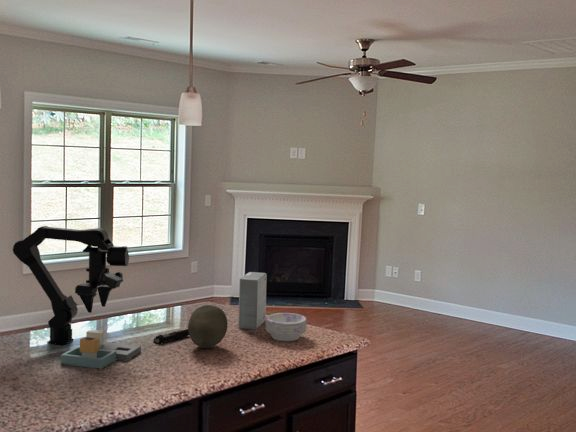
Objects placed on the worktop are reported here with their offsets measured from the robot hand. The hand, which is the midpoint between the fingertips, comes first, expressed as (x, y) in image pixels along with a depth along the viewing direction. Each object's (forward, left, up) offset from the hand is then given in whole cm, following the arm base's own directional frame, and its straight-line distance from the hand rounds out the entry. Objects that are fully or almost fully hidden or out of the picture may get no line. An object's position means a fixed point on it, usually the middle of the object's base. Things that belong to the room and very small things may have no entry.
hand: (96, 309), depth 216 cm
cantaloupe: (+38, +8, -12) cm, 41 cm away
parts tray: (+8, -19, -12) cm, 23 cm away
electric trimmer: (+23, +13, -12) cm, 29 cm away
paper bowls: (+61, +30, -12) cm, 69 cm away
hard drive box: (+44, +44, -12) cm, 63 cm away
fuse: (+4, -9, -12) cm, 15 cm away
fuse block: (+9, -9, -12) cm, 18 cm away
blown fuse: (+8, -18, -12) cm, 23 cm away
